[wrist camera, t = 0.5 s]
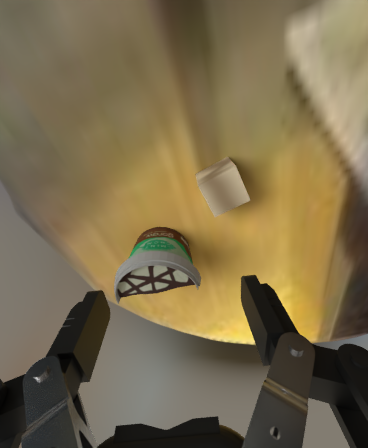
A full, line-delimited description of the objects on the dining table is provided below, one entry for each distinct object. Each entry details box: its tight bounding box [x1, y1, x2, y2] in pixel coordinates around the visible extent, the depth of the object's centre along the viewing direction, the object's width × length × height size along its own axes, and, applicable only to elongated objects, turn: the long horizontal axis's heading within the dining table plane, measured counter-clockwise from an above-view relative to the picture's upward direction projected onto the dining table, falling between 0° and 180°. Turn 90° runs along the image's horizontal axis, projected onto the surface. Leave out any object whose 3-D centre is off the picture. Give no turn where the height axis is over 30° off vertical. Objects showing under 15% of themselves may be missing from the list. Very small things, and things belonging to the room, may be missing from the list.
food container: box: [114, 227, 201, 303], centre depth 31 cm, size 12×6×10 cm, turn 103°
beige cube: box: [196, 157, 250, 217], centre depth 29 cm, size 5×5×5 cm
